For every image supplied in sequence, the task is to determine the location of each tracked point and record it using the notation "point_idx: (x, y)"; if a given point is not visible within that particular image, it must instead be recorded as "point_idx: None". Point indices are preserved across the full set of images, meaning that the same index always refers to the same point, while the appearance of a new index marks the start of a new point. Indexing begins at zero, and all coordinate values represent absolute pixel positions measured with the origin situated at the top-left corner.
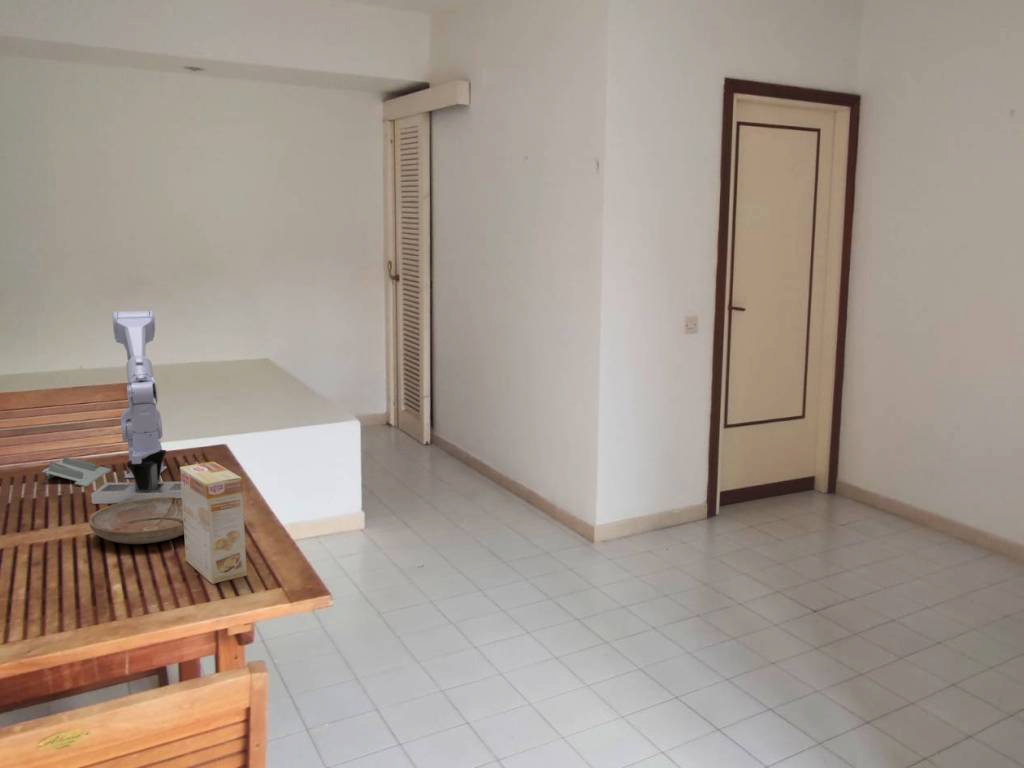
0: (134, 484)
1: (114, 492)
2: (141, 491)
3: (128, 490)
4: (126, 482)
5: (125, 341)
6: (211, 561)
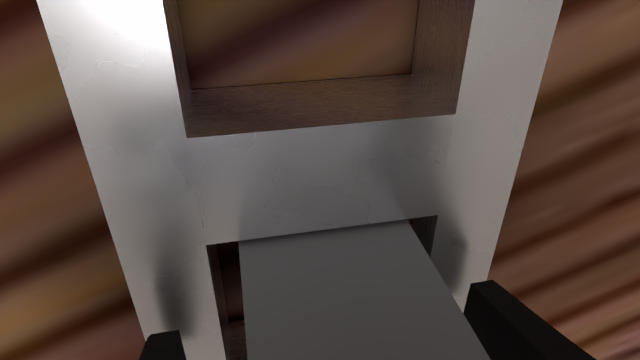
0: (445, 149)
1: (106, 58)
2: (187, 313)
3: (215, 188)
4: (553, 22)
5: None
6: None
